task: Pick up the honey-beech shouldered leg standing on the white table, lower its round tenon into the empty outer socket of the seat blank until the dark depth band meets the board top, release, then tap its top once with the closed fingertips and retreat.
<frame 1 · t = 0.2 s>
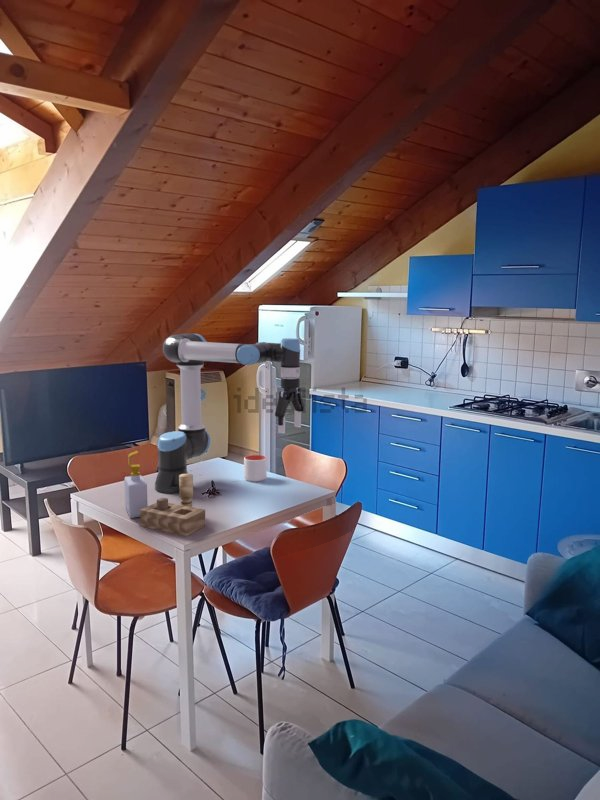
hand: (289, 430, 249), 28 cm above the table, fingers open, 13 cm apart
cup: (255, 479, 278), on the table
leg: (186, 514, 231), on the table
soap bottle: (136, 512, 233), on the table
seat blank: (173, 526, 219), on the table
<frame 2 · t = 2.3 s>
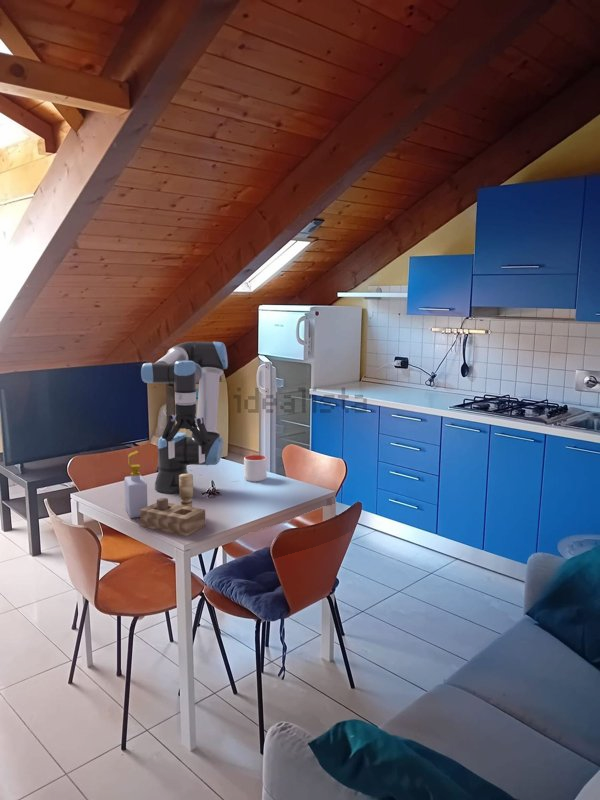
hand: (186, 460, 228), 21 cm above the table, fingers open, 13 cm apart
nothing on the table moved.
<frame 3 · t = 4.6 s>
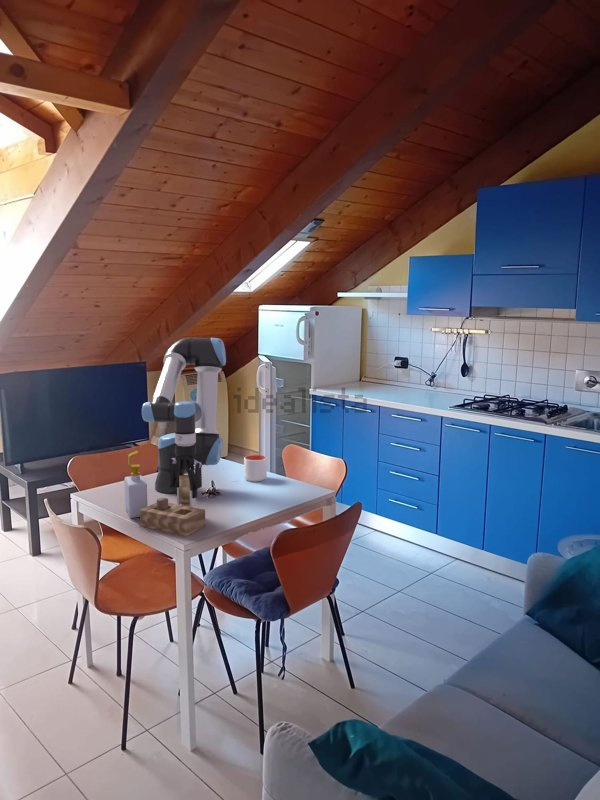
hand: (186, 504, 231), 4 cm above the table, fingers closed on leg, 5 cm apart
leg: (186, 514, 231), on the table, touching gripper
everything else where it was.
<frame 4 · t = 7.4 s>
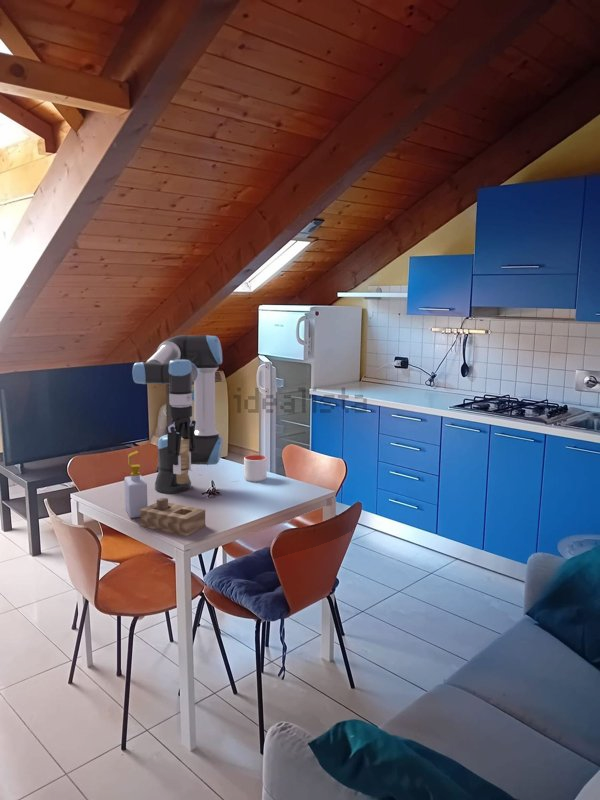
hand: (182, 471, 214), 20 cm above the table, fingers closed on leg, 5 cm apart
leg: (182, 482, 215), point 17 cm above the table, touching gripper
everything else where it was.
when the fingers open (7 cm above the table, at t = 10.1 s): leg drops 2 cm, resting on seat blank.
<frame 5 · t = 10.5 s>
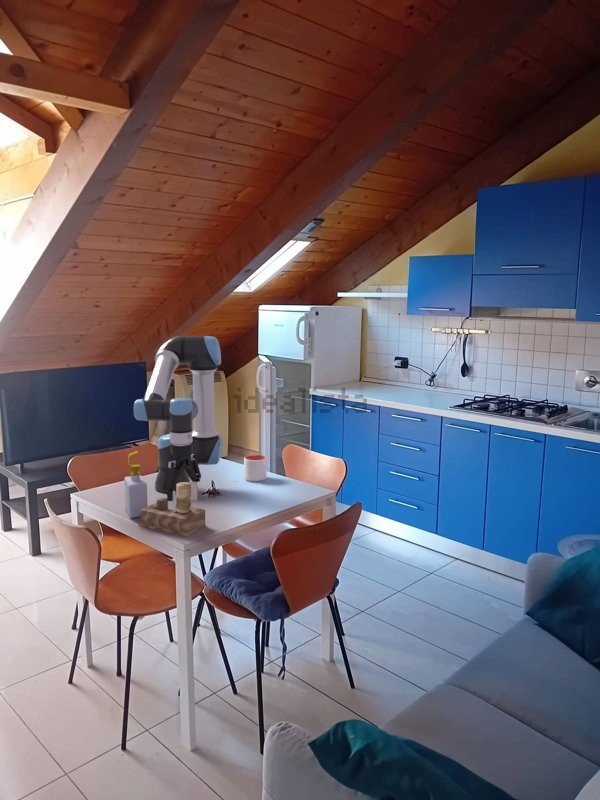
hand: (182, 504, 216), 9 cm above the table, fingers open, 11 cm apart
leg: (183, 525, 217), point 1 cm above the table, touching seat blank
everything else where it was.
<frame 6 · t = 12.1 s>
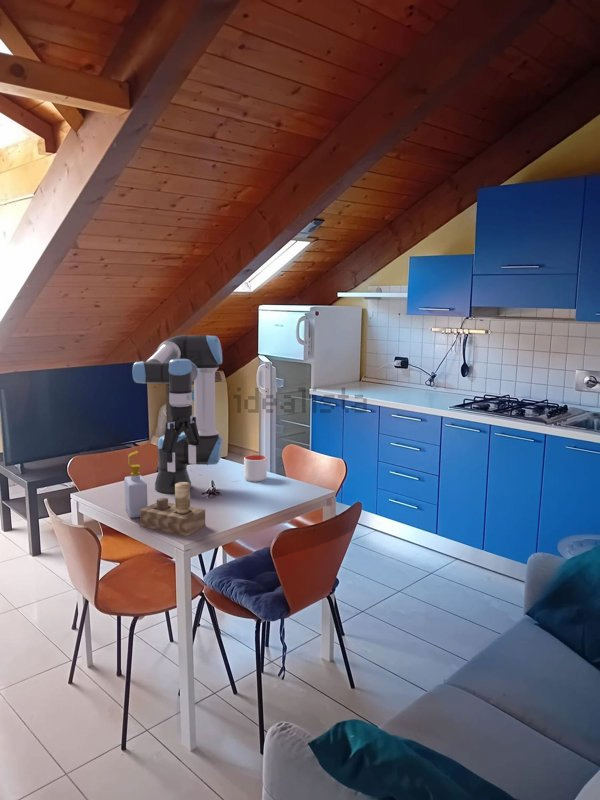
hand: (182, 467, 214), 22 cm above the table, fingers open, 11 cm apart
nothing on the table moved.
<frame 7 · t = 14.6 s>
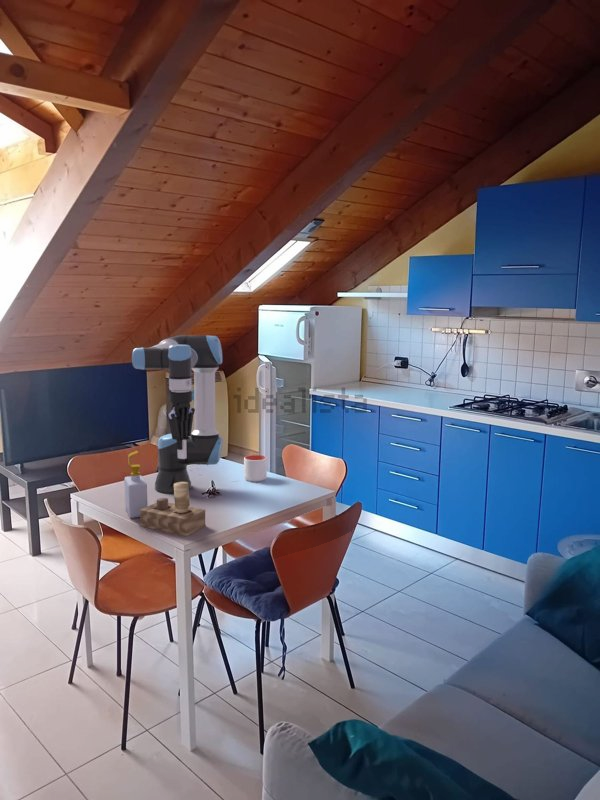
hand: (182, 458, 214), 25 cm above the table, fingers closed
nothing on the table moved.
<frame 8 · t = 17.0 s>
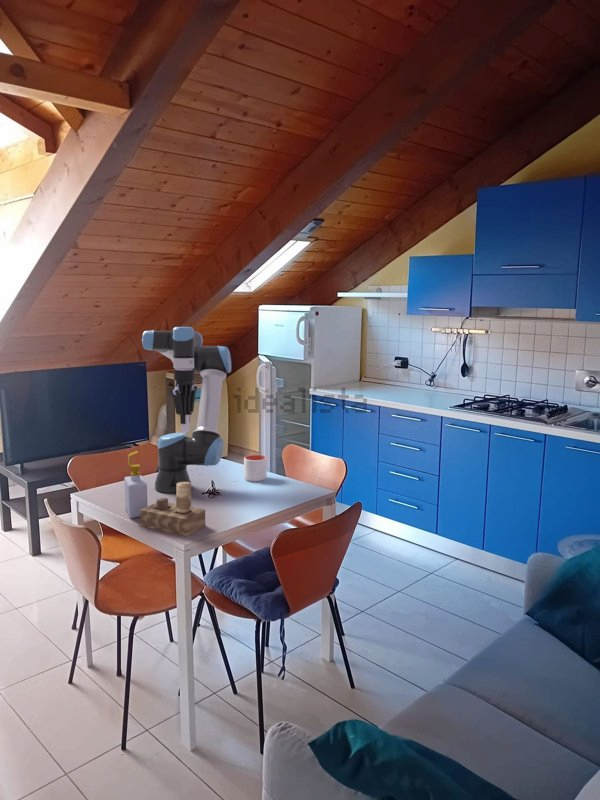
hand: (185, 431, 231), 30 cm above the table, fingers closed
at the end: leg 0.1 cm from the target spot on the seat blank, point 1.0 cm above the seat blank's base; leg tilted 1°; the gripper is holding nothing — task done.
